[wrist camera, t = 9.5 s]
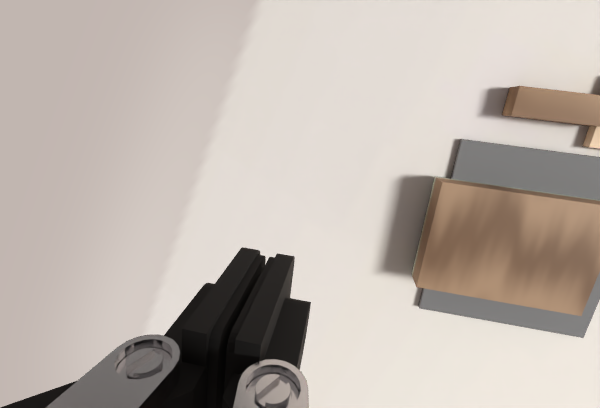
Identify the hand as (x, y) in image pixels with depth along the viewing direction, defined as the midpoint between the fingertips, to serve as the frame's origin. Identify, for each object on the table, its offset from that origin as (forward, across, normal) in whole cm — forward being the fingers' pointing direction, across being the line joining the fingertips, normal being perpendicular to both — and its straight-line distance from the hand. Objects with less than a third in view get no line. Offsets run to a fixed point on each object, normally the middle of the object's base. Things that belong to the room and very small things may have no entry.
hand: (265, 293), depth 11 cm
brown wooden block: (+12, -8, +2) cm, 14 cm away
